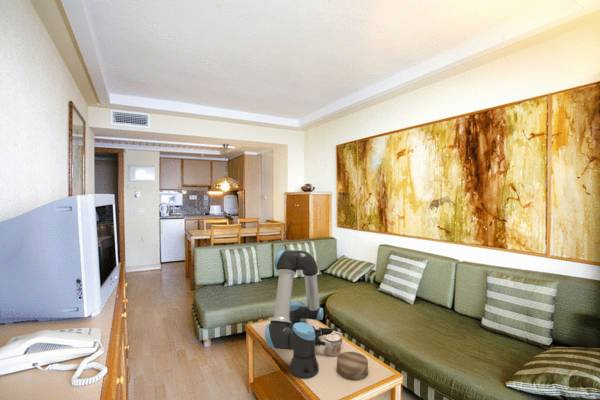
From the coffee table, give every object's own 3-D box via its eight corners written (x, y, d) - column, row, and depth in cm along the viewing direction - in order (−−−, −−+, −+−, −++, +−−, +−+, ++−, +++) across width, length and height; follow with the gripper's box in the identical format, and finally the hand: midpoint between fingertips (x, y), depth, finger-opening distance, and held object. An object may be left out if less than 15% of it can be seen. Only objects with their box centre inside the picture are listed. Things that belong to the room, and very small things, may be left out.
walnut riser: (359, 384, 140) (359, 372, 140) (331, 373, 150) (331, 361, 150) (372, 369, 153) (372, 357, 153) (346, 359, 163) (345, 348, 163)
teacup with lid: (333, 358, 163) (332, 338, 163) (322, 352, 170) (322, 332, 170) (347, 351, 171) (347, 331, 171) (336, 345, 178) (336, 326, 178)
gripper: (318, 329, 193) (346, 338, 180) (295, 345, 173) (325, 356, 160) (318, 318, 193) (346, 326, 180) (295, 332, 173) (325, 342, 160)
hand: (336, 340), depth 170 cm, fingers open, 13 cm apart
